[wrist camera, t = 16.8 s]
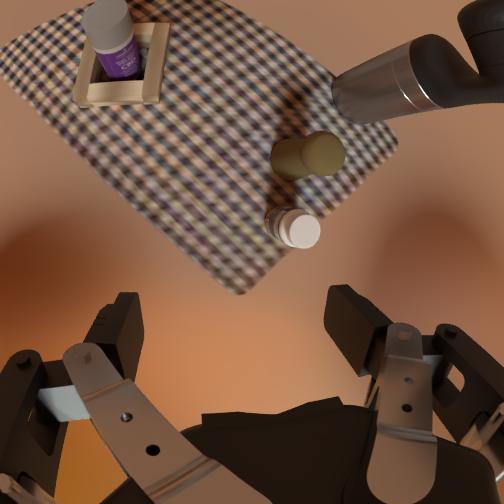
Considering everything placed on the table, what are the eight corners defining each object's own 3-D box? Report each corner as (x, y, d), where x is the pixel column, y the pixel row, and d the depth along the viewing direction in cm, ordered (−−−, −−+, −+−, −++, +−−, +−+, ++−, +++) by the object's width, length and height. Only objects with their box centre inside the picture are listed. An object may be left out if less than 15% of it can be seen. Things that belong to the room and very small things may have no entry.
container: (131, 88, 30) (112, 36, 16) (102, 80, 29) (70, 29, 15) (147, 60, 30) (138, -1, 16) (118, 52, 28) (97, -7, 14)
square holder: (169, 36, 30) (170, 22, 26) (159, 104, 32) (157, 94, 28) (95, 40, 27) (89, 27, 23) (81, 107, 29) (72, 100, 25)
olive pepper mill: (269, 137, 37) (304, 122, 27) (309, 139, 39) (352, 128, 28) (271, 180, 38) (306, 179, 28) (310, 180, 40) (354, 180, 30)
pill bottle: (301, 215, 41) (330, 223, 33) (285, 244, 41) (312, 258, 33) (274, 199, 39) (299, 203, 31) (258, 229, 40) (279, 240, 32)
